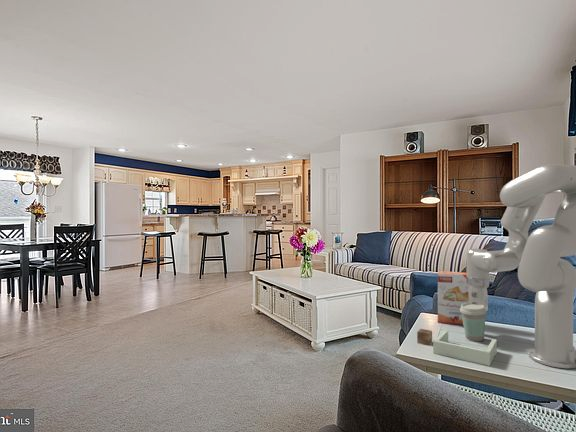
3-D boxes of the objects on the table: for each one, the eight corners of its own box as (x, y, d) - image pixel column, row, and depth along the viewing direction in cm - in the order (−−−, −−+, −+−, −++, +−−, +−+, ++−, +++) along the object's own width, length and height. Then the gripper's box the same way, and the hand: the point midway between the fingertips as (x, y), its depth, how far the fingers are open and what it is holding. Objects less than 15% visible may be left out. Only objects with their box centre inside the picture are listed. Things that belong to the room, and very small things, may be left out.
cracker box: (437, 323, 148) (437, 272, 147) (437, 318, 153) (437, 270, 153) (475, 327, 142) (475, 274, 142) (474, 322, 148) (474, 272, 147)
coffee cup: (481, 332, 133) (479, 301, 132) (492, 342, 124) (490, 308, 123) (458, 334, 134) (455, 302, 133) (467, 343, 125) (465, 310, 124)
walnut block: (432, 341, 127) (432, 330, 127) (429, 345, 123) (429, 333, 123) (420, 339, 129) (420, 328, 129) (417, 343, 126) (417, 331, 126)
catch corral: (496, 351, 117) (496, 339, 117) (489, 365, 106) (489, 352, 106) (444, 340, 127) (444, 329, 127) (433, 353, 116) (433, 340, 116)
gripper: (484, 286, 126) (484, 338, 126) (492, 280, 137) (492, 327, 138) (461, 284, 130) (461, 333, 131) (471, 277, 142) (470, 323, 142)
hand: (477, 330), depth 134 cm, fingers closed
